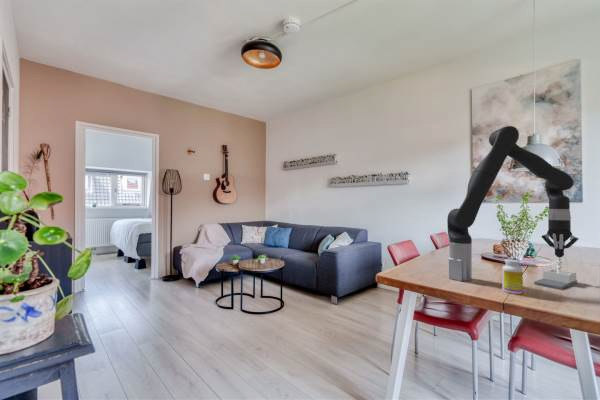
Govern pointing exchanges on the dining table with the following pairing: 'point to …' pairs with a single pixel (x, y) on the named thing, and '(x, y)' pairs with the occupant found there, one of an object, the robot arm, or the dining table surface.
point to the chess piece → (559, 265)
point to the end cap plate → (557, 279)
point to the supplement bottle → (512, 277)
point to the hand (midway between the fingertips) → (559, 257)
